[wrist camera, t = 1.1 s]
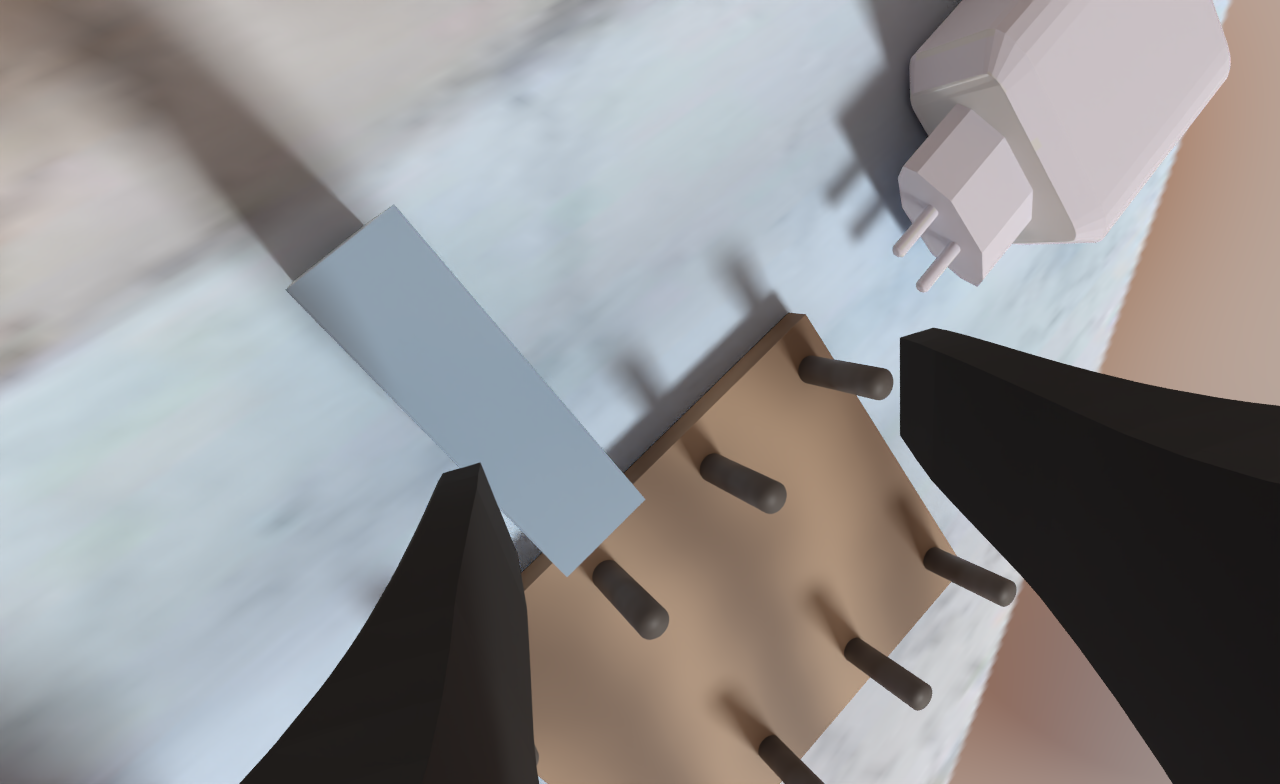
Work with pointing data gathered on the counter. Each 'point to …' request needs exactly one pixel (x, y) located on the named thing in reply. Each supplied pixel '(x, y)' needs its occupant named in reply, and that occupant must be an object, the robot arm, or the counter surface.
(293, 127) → the counter surface
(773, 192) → the counter surface
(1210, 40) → the charger
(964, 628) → the counter surface
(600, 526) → the tile
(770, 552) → the rack
